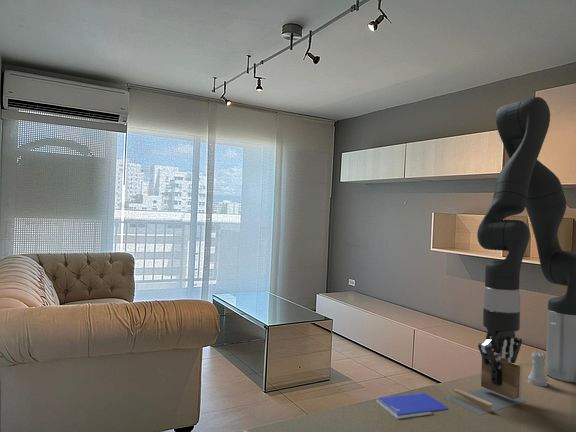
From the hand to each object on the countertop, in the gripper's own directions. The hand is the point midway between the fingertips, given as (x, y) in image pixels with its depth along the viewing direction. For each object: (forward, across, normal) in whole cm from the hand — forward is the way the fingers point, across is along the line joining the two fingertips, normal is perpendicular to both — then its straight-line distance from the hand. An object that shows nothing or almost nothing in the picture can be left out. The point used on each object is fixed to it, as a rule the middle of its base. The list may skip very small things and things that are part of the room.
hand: (499, 383), depth 99 cm
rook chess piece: (+4, -18, -1) cm, 18 cm away
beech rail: (+3, +9, 0) cm, 10 cm away
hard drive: (+4, +22, -6) cm, 23 cm away
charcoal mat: (+4, +4, 0) cm, 6 cm away
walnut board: (+2, 0, 0) cm, 2 cm away
